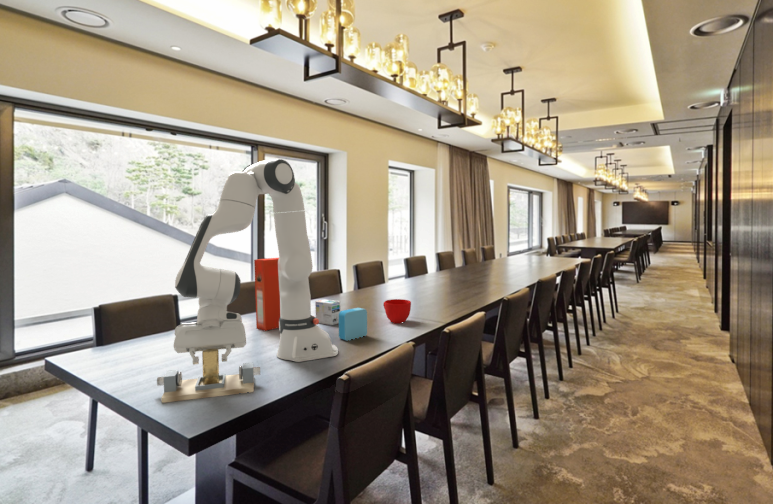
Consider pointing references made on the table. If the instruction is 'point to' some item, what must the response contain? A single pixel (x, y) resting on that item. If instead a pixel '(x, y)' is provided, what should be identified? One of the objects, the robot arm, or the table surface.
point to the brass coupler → (210, 366)
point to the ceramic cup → (397, 310)
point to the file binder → (267, 293)
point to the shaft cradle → (195, 389)
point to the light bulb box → (327, 311)
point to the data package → (352, 323)
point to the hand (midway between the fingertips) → (210, 362)
